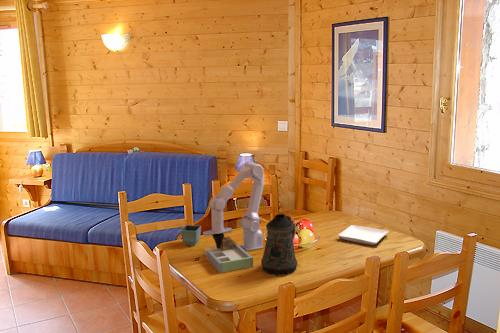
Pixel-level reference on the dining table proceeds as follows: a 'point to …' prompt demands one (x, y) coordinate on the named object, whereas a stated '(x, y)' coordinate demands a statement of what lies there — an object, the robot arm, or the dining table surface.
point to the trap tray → (229, 258)
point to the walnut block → (226, 243)
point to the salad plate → (362, 234)
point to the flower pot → (190, 234)
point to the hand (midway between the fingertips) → (218, 247)
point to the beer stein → (279, 247)
